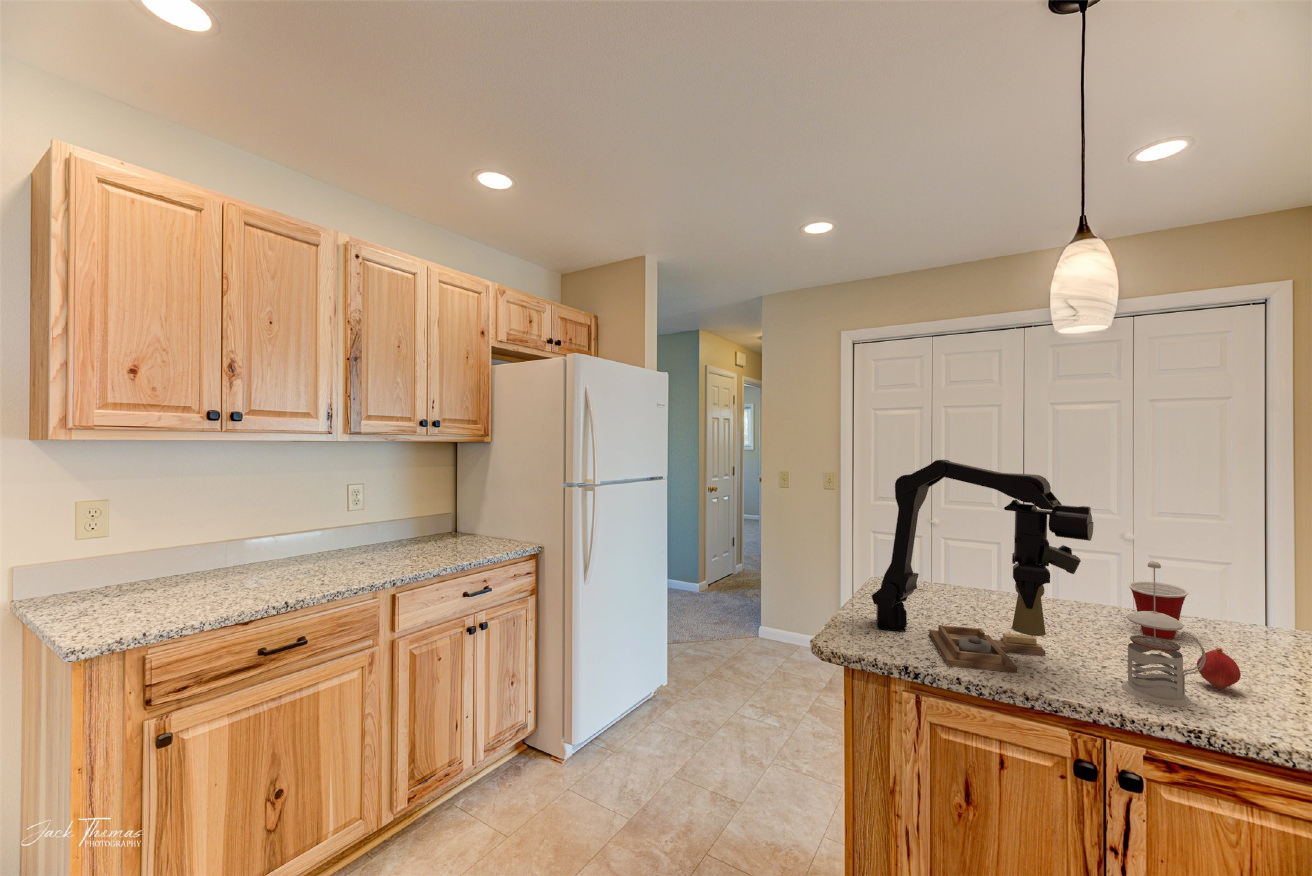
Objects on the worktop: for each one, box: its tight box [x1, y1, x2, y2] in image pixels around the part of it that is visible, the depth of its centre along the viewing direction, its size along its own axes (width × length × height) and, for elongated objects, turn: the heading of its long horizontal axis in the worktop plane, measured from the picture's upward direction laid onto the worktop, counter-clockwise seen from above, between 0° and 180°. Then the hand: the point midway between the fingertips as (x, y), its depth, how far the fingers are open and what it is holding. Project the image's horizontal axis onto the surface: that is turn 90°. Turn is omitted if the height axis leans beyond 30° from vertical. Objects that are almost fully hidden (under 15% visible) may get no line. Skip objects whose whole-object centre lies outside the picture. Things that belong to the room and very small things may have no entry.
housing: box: [928, 624, 1046, 674], centre depth 121 cm, size 22×19×4 cm
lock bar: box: [1002, 632, 1038, 646], centre depth 123 cm, size 6×2×2 cm, turn 74°
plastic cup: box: [1128, 581, 1189, 641], centre depth 132 cm, size 11×11×12 cm
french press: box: [1120, 560, 1206, 707], centre depth 102 cm, size 10×12×25 cm
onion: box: [1196, 647, 1242, 690], centre depth 104 cm, size 6×6×8 cm
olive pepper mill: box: [1011, 583, 1046, 637], centre depth 116 cm, size 6×6×11 cm
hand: (1028, 605), depth 116 cm, fingers closed on olive pepper mill, 5 cm apart
